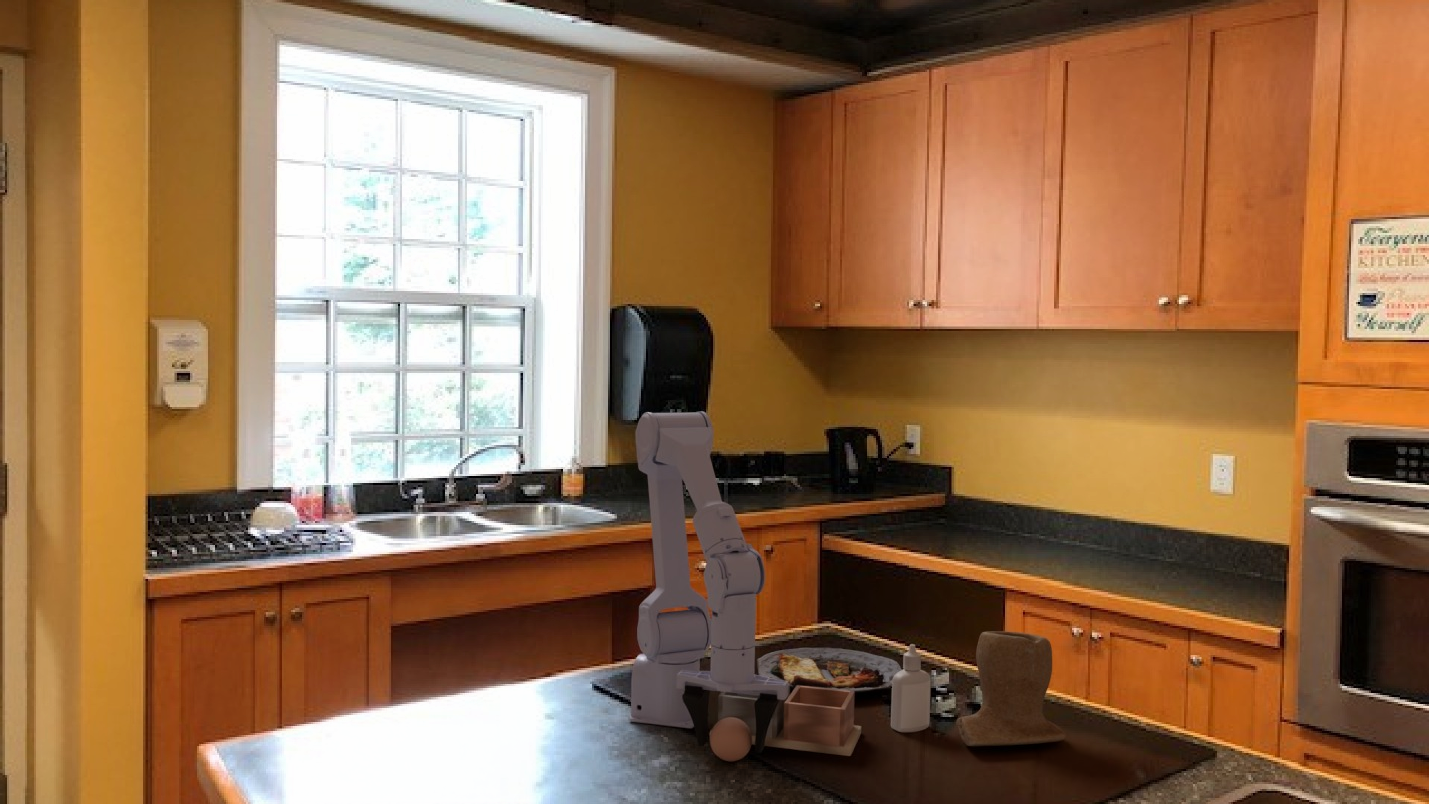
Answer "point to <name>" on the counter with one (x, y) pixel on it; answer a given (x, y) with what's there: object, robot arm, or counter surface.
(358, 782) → the counter surface
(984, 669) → the brown flared upright piece
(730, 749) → the terracotta ball
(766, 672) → the food plate
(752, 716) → the sorting bin tray
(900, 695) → the eye dropper bottle
